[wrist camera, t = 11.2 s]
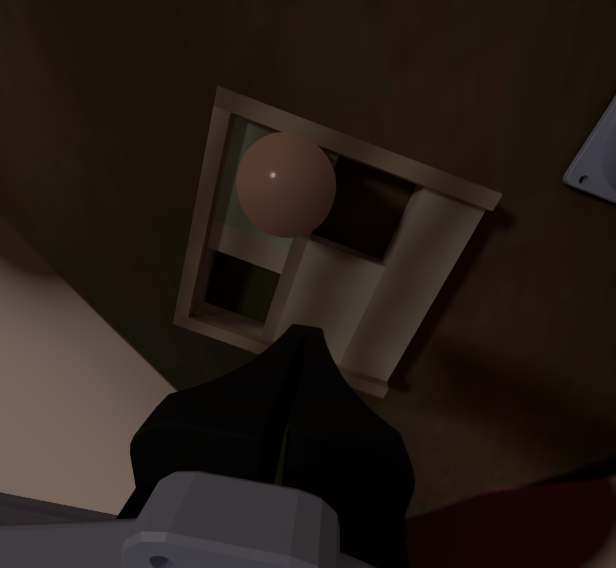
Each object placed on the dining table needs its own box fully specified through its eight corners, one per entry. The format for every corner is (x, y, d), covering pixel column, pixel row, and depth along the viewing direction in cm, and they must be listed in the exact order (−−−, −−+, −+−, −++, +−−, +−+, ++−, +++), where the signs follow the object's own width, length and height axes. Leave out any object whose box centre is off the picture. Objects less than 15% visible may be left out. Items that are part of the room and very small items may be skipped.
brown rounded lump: (353, 189, 18) (356, 194, 14) (293, 240, 19) (282, 256, 16) (300, 120, 17) (289, 106, 13) (241, 180, 18) (216, 182, 15)
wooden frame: (480, 191, 19) (502, 194, 16) (378, 374, 25) (382, 398, 22) (234, 97, 19) (217, 85, 16) (190, 307, 25) (173, 323, 22)
